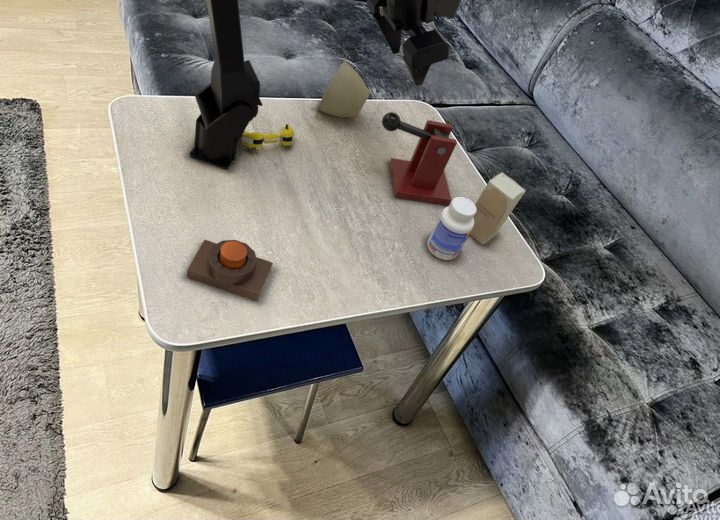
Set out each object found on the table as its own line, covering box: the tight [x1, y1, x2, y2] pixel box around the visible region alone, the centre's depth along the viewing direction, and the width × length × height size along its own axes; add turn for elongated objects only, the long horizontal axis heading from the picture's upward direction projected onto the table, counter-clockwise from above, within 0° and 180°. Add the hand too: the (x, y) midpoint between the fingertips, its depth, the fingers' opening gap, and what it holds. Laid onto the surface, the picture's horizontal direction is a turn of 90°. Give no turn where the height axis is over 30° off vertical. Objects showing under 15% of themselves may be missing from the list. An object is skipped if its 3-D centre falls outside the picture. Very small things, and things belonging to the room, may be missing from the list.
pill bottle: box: [426, 196, 476, 261], centre depth 92 cm, size 5×5×10 cm
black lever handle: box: [381, 111, 450, 142], centre depth 96 cm, size 12×3×3 cm, turn 95°
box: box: [469, 171, 526, 246], centre depth 97 cm, size 5×4×11 cm
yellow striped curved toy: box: [241, 124, 295, 151], centre depth 100 cm, size 10×6×4 cm, turn 117°
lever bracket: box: [388, 119, 458, 206], centre depth 101 cm, size 10×9×12 cm
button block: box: [186, 239, 274, 302], centre depth 80 cm, size 10×6×4 cm, turn 78°
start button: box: [220, 241, 247, 269], centre depth 78 cm, size 3×3×2 cm
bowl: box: [316, 60, 370, 118], centre depth 110 cm, size 10×10×7 cm
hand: (407, 68), depth 98 cm, fingers open, 9 cm apart
